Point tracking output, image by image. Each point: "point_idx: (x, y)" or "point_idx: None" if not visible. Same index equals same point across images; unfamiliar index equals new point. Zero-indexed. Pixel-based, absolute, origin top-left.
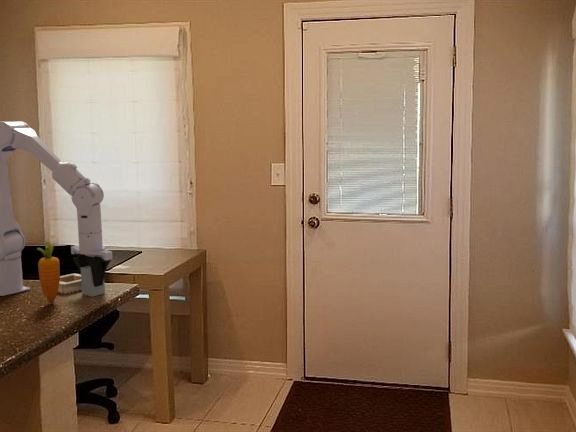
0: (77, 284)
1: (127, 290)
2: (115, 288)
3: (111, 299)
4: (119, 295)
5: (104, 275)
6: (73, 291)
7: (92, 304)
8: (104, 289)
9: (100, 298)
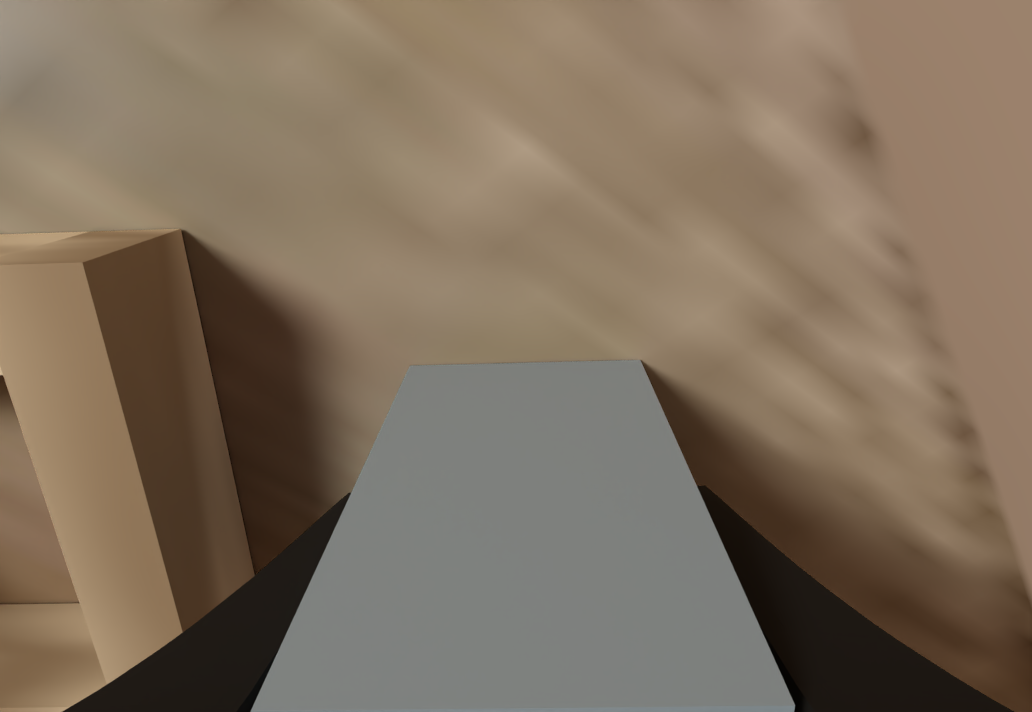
0: (198, 573)
1: (825, 19)
2: (529, 69)
3: (971, 486)
4: (929, 304)
5: (810, 577)
6: (250, 574)
7: None
8: (648, 386)
9: (799, 535)
